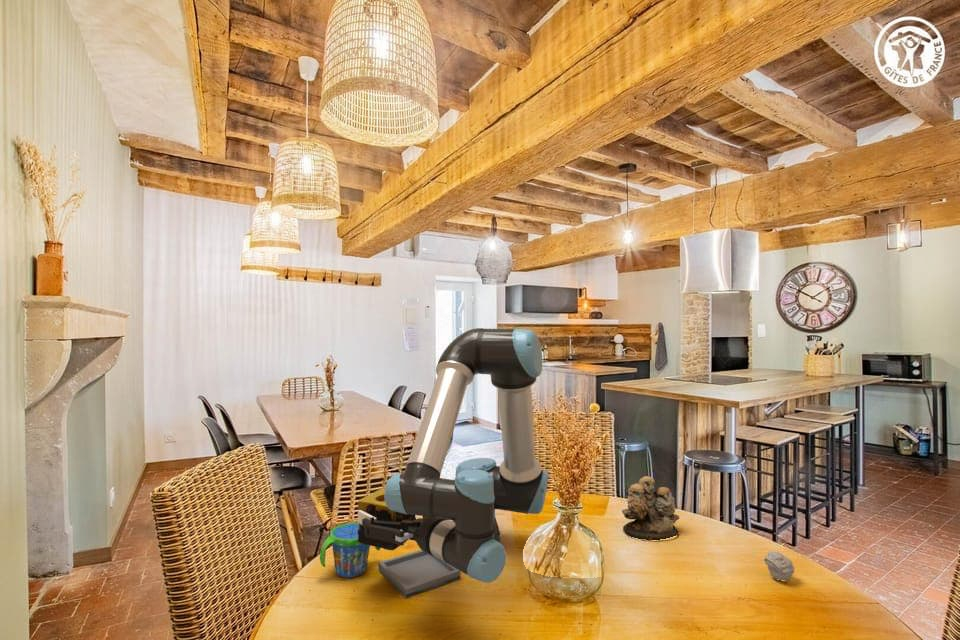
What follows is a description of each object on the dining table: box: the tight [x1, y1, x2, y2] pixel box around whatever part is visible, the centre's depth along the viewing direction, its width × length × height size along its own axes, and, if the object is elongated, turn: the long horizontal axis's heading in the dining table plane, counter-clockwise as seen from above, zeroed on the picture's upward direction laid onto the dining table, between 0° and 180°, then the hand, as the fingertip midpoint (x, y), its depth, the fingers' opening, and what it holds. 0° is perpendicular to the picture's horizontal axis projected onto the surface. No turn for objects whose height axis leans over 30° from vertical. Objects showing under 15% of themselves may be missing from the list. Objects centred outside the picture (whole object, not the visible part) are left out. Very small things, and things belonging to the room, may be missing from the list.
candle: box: [357, 488, 417, 551], centre depth 113 cm, size 10×10×10 cm
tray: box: [377, 549, 462, 599], centre depth 119 cm, size 15×15×2 cm
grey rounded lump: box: [763, 550, 795, 581], centre depth 119 cm, size 6×7×7 cm
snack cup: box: [319, 522, 381, 579], centre depth 120 cm, size 16×11×10 cm
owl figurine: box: [621, 475, 680, 541], centre depth 146 cm, size 18×12×17 cm, turn 101°
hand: (382, 508), depth 115 cm, fingers closed on candle, 12 cm apart
